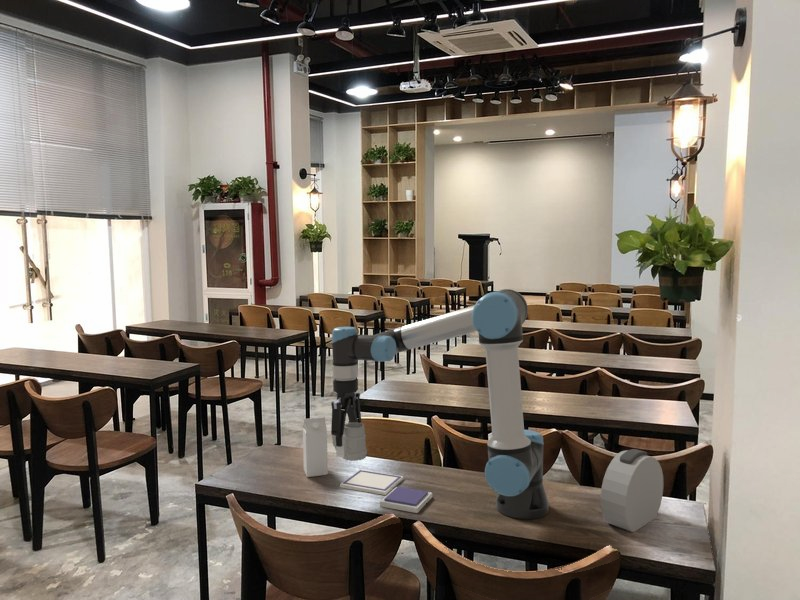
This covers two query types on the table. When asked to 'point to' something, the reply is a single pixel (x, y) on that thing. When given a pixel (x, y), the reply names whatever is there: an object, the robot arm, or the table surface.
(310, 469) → the milk carton
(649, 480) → the alarm clock
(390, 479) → the board
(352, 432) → the mug
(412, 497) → the ink pad
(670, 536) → the table surface
